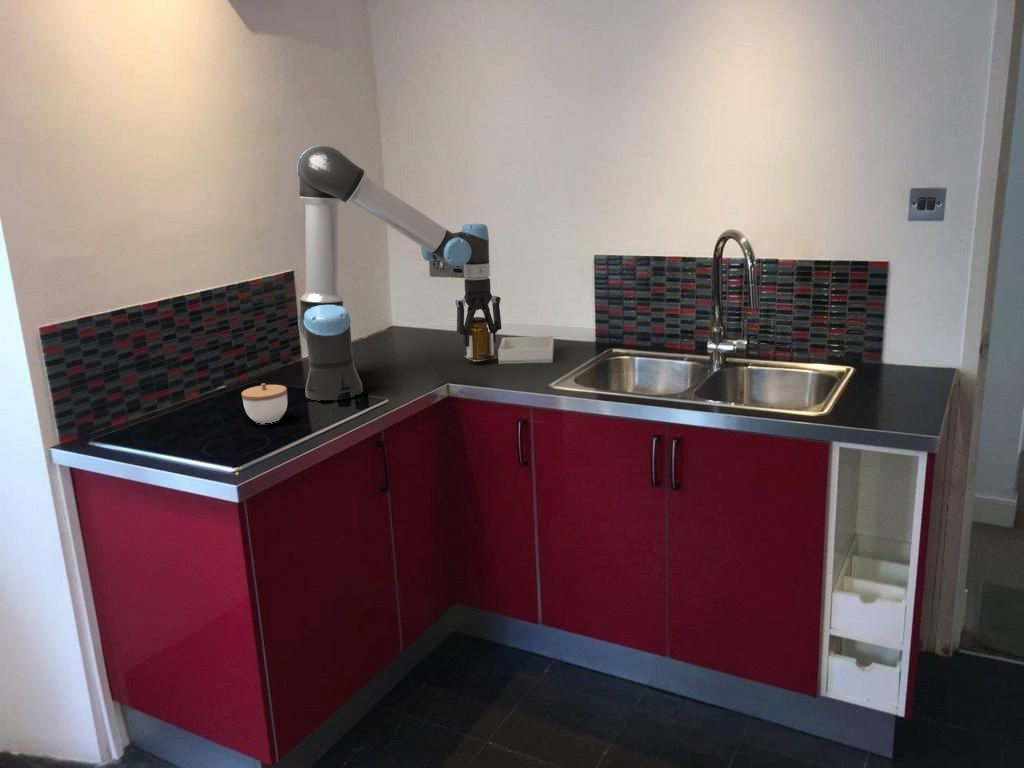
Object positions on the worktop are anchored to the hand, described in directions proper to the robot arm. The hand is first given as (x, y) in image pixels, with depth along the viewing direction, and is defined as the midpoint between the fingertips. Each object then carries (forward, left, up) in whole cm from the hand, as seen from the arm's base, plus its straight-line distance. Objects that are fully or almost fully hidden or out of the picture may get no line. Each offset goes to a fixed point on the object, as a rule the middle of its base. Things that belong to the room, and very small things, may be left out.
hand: (480, 355), depth 265 cm
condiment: (0, +2, -1) cm, 2 cm away
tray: (+13, +8, -3) cm, 16 cm away
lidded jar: (-48, -52, -3) cm, 70 cm away
